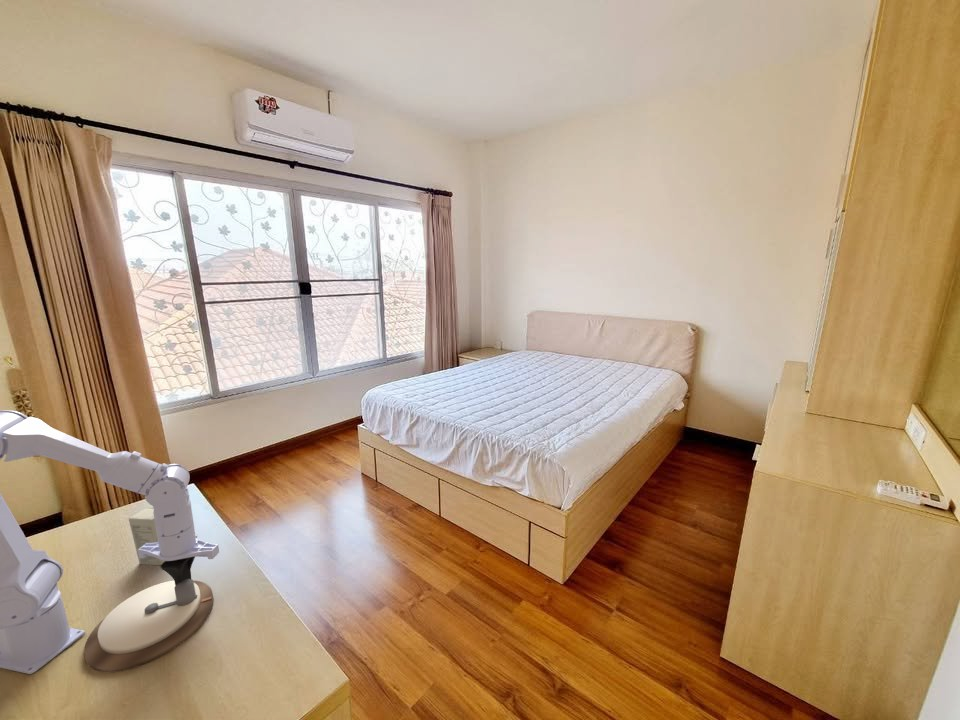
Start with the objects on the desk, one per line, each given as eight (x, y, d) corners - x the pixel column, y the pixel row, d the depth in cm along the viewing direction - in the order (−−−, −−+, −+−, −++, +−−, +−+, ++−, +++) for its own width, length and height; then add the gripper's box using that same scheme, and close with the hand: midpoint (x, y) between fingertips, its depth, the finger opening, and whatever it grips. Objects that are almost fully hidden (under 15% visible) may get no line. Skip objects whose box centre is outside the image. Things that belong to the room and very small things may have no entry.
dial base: (54, 662, 67) (53, 655, 66) (160, 579, 85) (159, 574, 85) (146, 681, 64) (145, 674, 63) (235, 591, 82) (234, 585, 82)
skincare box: (178, 553, 93) (170, 508, 91) (162, 566, 89) (153, 519, 86) (154, 551, 94) (145, 506, 91) (137, 564, 90) (127, 517, 87)
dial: (82, 668, 64) (76, 643, 63) (118, 601, 77) (113, 580, 76) (191, 633, 71) (187, 610, 70) (207, 577, 84) (204, 557, 83)
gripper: (225, 515, 79) (232, 572, 82) (155, 514, 79) (164, 571, 82) (201, 538, 72) (210, 599, 75) (124, 536, 72) (135, 598, 75)
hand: (184, 586), depth 78 cm, fingers closed, pressing on dial
